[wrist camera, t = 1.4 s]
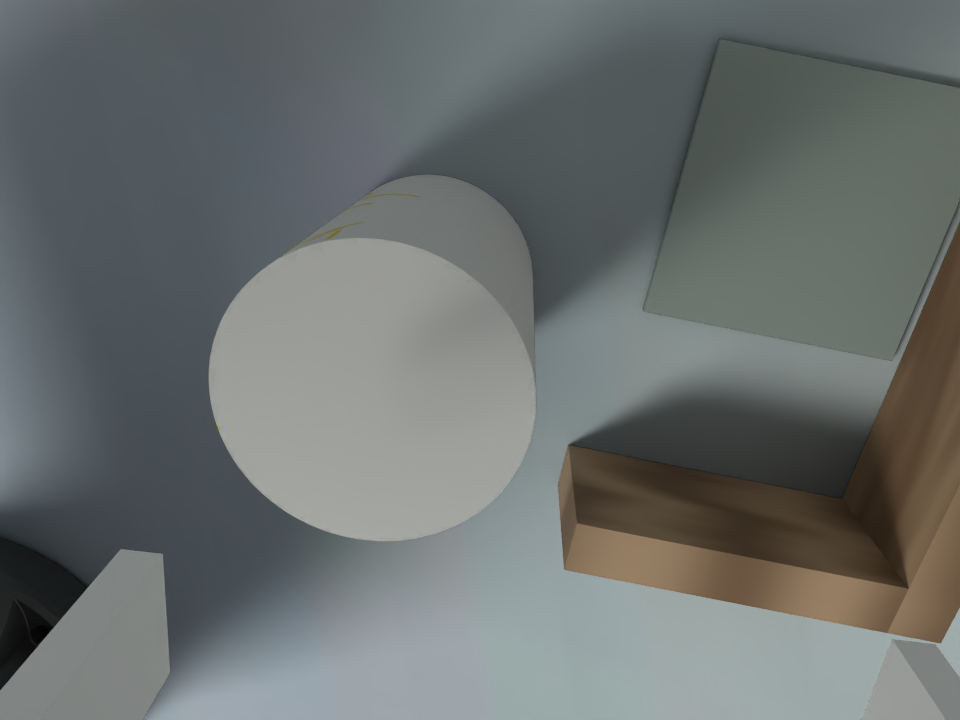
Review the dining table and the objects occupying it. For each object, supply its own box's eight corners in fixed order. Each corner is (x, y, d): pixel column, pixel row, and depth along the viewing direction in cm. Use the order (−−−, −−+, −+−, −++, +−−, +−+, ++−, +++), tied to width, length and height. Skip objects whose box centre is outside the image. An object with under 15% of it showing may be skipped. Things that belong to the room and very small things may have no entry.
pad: (643, 309, 29) (643, 311, 29) (718, 39, 26) (720, 39, 25) (888, 358, 29) (891, 361, 29) (998, 96, 26) (1003, 96, 26)
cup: (386, 133, 28) (290, 170, 16) (572, 243, 29) (600, 348, 17) (297, 312, 30) (161, 449, 19) (469, 406, 31) (436, 589, 20)
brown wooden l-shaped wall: (557, 484, 32) (564, 569, 27) (689, -17, 25) (735, -44, 20) (869, 546, 32) (940, 643, 27) (1088, 65, 25) (1247, 61, 20)
